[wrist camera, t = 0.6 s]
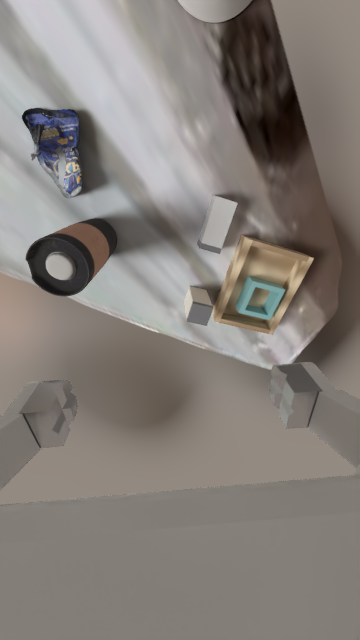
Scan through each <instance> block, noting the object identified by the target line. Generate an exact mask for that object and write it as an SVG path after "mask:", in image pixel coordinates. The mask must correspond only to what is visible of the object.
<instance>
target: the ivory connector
mask: <svg viewBox="0 0 360 640" xmlns="http://www.w3.org/2000/svg"><path fill="white" fill-rule="evenodd" d="M184 304H185V311H186V317H187V322H192V323H196V324H201V325H205V326H207V323H208V321H209V318H210V316H211V313H212V310H213V306H212V303H211V301H210V298H209V295H208V293H207V290H204V289H200V288H196V287H192V286H189V288H188V291H187V294H186V298H185V301H184Z"/></svg>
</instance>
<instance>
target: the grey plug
mask: <svg viewBox="0 0 360 640" xmlns="http://www.w3.org/2000/svg"><path fill="white" fill-rule="evenodd" d="M237 204H238V203H236V202H233V201H230V200H227V199H224V198H221V197H218V196H214V195H212V198H211V201H210V204H209V207H208V211H207V214H206V217H205V220H204V224H203V227H202V230H201V234H200V237H199V240H198V243H197V244H198V246H199V248H201V249H204V250H208V251H211V252H215V253H219V254H220V252H221V249H222V246H223V243H224V240H225V238H226V235H227V232H228V229H229V226H230V224H231V221H232V218H233V215H234V212H235V210H236V207H237Z"/></svg>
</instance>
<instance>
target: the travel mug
mask: <svg viewBox="0 0 360 640" xmlns="http://www.w3.org/2000/svg"><path fill="white" fill-rule="evenodd" d="M116 244H117V237H116V233H115V231H114V229H113V228H112V226H111V225H110V224H108V223H107V222H106V221H104V220H101V219H89V220H86V221H82V222H79V223H76V224H73V225H70V226H68V227H66V228H63V229H61V230H59V231H57V232H54V233H52V234H50V235H48V236H45V237H43V238H41V239H39V240H37V241H35V242H34V243H33V244H32V245H31V246H30V248H29V250H28V252H27V254H26V260H27V262H28V264H29V267H30V270H31V274H32V279H33V281H34V282H35V283H36V284H37V285H38V286H39V287H41V288H42V289H43V290H45V291H47V292H49V293H51V294H54V295H57V296H71V295H75V294H77V293H79V292H80V291H82V290H83V289H84V288H85V287H86V286H87V285H88V283H89V282H90V281H91V280H92V279H93V278H94V276H95V275H96V274H97V273H98V272H99V270H100V269H101V268H102V267H103V266H104V264H105V263H106V262H107V260H108V259H109V257H110V256H111V254H112V253H113V251H114V249H115V247H116Z"/></svg>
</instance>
